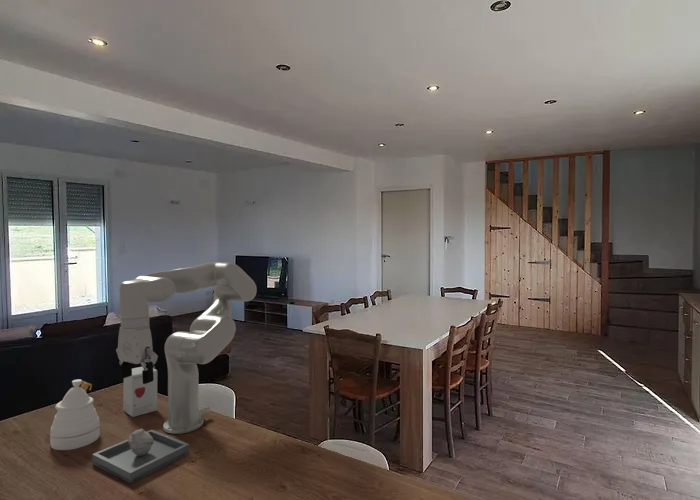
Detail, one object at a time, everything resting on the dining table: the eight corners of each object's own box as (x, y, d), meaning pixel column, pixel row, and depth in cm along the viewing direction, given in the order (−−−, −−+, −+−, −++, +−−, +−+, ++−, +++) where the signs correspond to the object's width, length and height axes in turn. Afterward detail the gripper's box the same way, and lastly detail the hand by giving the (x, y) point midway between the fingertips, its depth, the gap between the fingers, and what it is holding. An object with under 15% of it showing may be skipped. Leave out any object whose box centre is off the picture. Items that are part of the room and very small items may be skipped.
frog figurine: (138, 447, 124) (138, 424, 124) (158, 451, 123) (158, 427, 122) (122, 458, 118) (122, 433, 118) (143, 461, 117) (143, 436, 117)
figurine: (82, 408, 155) (82, 376, 155) (97, 409, 154) (97, 377, 154) (63, 418, 147) (63, 383, 146) (79, 419, 146) (78, 385, 145)
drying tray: (151, 438, 133) (151, 429, 133) (189, 453, 123) (189, 444, 123) (92, 464, 117) (92, 454, 117) (130, 483, 108) (130, 473, 108)
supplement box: (131, 418, 147) (131, 375, 147) (122, 410, 154) (122, 369, 153) (158, 410, 154) (158, 369, 154) (148, 403, 160) (148, 364, 160)
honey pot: (57, 434, 135) (57, 378, 134) (103, 428, 139) (103, 374, 139) (44, 453, 123) (43, 392, 122) (95, 446, 127) (94, 387, 127)
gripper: (104, 322, 124) (106, 379, 125) (143, 328, 116) (145, 389, 117) (128, 317, 131) (130, 371, 132) (166, 322, 123) (168, 380, 124)
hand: (137, 379), depth 125 cm, fingers open, 9 cm apart
